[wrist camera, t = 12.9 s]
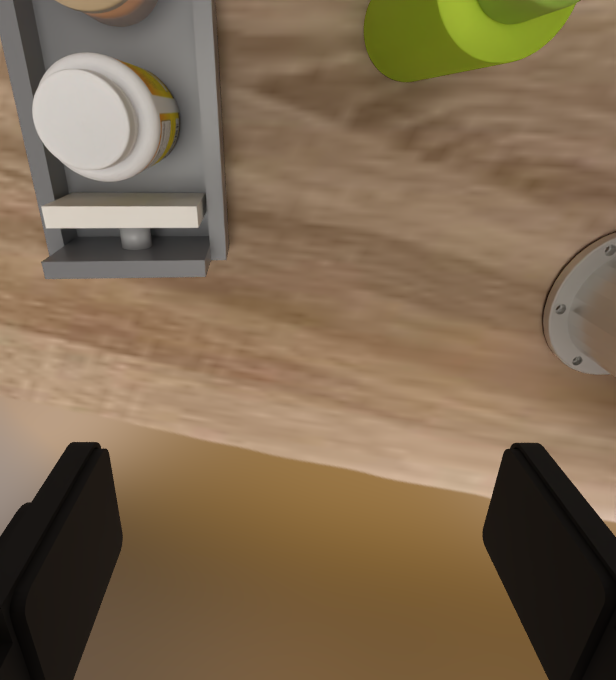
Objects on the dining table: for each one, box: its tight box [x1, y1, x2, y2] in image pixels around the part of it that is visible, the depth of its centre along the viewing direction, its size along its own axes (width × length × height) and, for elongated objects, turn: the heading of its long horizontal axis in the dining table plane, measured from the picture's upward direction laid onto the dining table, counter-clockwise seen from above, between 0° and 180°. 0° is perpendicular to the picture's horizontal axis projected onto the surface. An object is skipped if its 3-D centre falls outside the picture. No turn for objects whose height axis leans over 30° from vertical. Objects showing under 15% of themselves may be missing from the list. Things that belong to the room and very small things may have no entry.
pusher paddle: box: [41, 193, 206, 228], centre depth 29 cm, size 8×1×5 cm, turn 89°
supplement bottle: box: [32, 52, 180, 182], centre depth 25 cm, size 6×6×10 cm
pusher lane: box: [0, 0, 229, 279], centre depth 26 cm, size 11×20×7 cm, turn 179°
